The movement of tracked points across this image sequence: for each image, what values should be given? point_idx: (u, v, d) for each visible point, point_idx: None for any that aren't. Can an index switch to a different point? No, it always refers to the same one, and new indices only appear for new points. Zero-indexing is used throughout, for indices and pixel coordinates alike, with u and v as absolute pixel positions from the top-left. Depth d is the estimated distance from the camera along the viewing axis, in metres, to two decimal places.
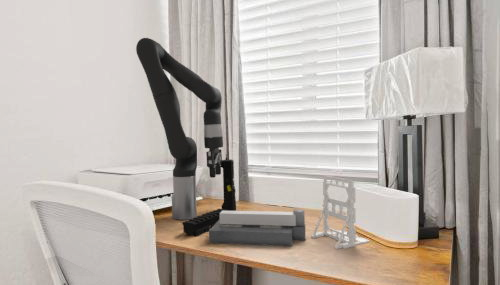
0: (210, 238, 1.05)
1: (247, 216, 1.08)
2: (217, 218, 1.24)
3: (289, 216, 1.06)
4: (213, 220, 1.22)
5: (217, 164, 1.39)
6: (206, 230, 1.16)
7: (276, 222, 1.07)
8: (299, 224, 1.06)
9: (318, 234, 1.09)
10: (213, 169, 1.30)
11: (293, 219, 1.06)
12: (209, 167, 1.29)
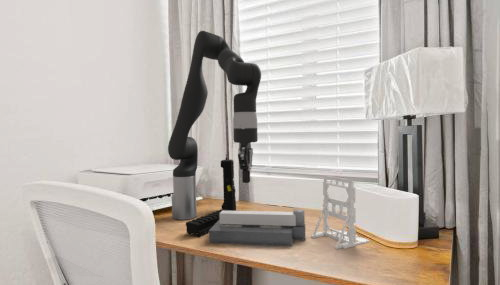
0: (210, 238, 1.05)
1: (247, 216, 1.08)
2: None
3: (289, 216, 1.06)
4: (216, 220, 1.21)
5: None
6: None
7: (276, 222, 1.07)
8: (299, 224, 1.06)
9: (318, 234, 1.09)
10: (247, 172, 1.03)
11: (293, 219, 1.06)
12: (242, 170, 1.02)
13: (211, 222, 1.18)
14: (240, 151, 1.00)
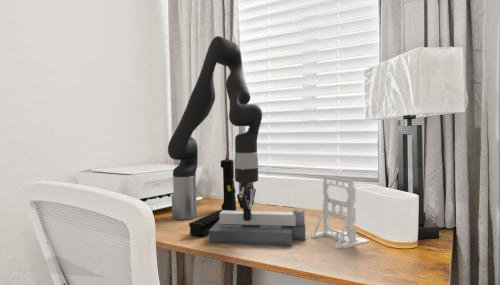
0: (210, 238, 1.05)
1: None
2: None
3: (289, 216, 1.06)
4: None
5: None
6: None
7: (276, 222, 1.07)
8: (299, 224, 1.06)
9: (318, 234, 1.09)
10: (248, 211, 1.05)
11: (293, 219, 1.06)
12: (243, 208, 1.05)
13: (214, 222, 1.18)
14: (240, 191, 1.03)
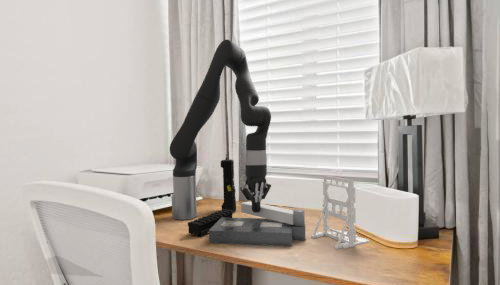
0: (210, 238, 1.05)
1: None
2: None
3: (287, 214, 1.08)
4: None
5: None
6: None
7: (278, 218, 1.12)
8: (295, 224, 1.06)
9: (318, 234, 1.09)
10: (255, 203, 1.16)
11: (290, 218, 1.08)
12: (250, 200, 1.16)
13: (213, 222, 1.18)
14: None
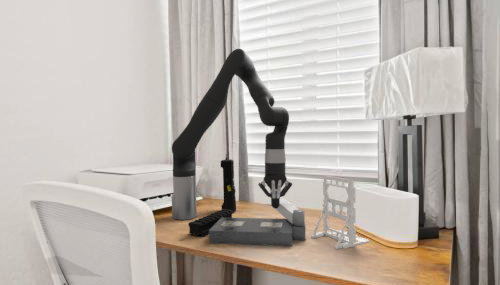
0: (210, 238, 1.05)
1: (279, 205, 1.24)
2: None
3: (290, 213, 1.10)
4: None
5: (275, 195, 1.23)
6: None
7: (286, 216, 1.14)
8: (293, 223, 1.07)
9: (318, 234, 1.09)
10: (272, 199, 1.22)
11: (291, 217, 1.09)
12: (270, 196, 1.23)
13: (213, 222, 1.18)
14: None
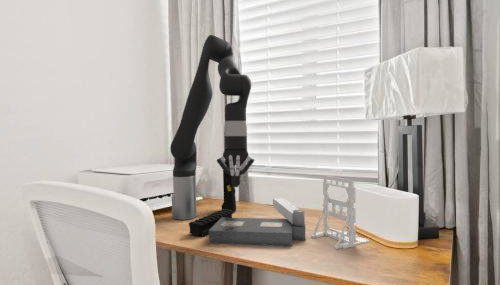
0: (210, 238, 1.05)
1: (279, 205, 1.24)
2: None
3: (290, 213, 1.10)
4: None
5: None
6: None
7: (286, 216, 1.14)
8: (293, 223, 1.07)
9: (318, 234, 1.09)
10: (232, 177, 1.10)
11: (291, 217, 1.09)
12: None
13: (214, 222, 1.18)
14: None
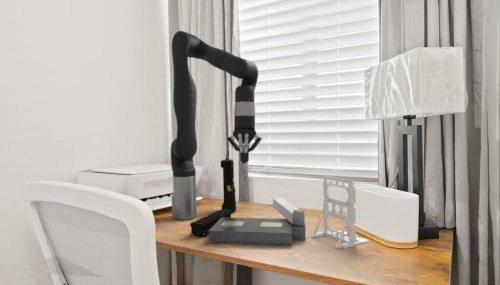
0: (210, 238, 1.05)
1: (279, 205, 1.24)
2: None
3: (290, 213, 1.10)
4: None
5: None
6: None
7: (286, 216, 1.14)
8: (293, 223, 1.07)
9: (318, 234, 1.09)
10: (241, 154, 1.20)
11: (291, 217, 1.09)
12: None
13: (214, 222, 1.18)
14: None
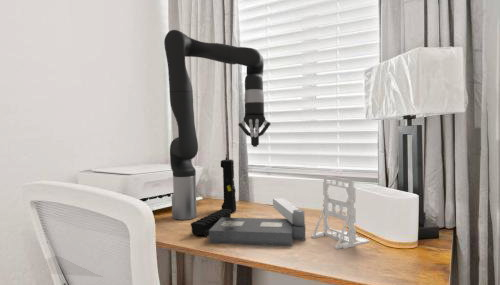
0: (210, 238, 1.05)
1: (279, 205, 1.24)
2: None
3: (290, 213, 1.10)
4: None
5: None
6: None
7: (286, 216, 1.14)
8: (293, 223, 1.07)
9: (318, 234, 1.09)
10: (251, 138, 1.29)
11: (291, 217, 1.09)
12: None
13: (215, 222, 1.18)
14: None
